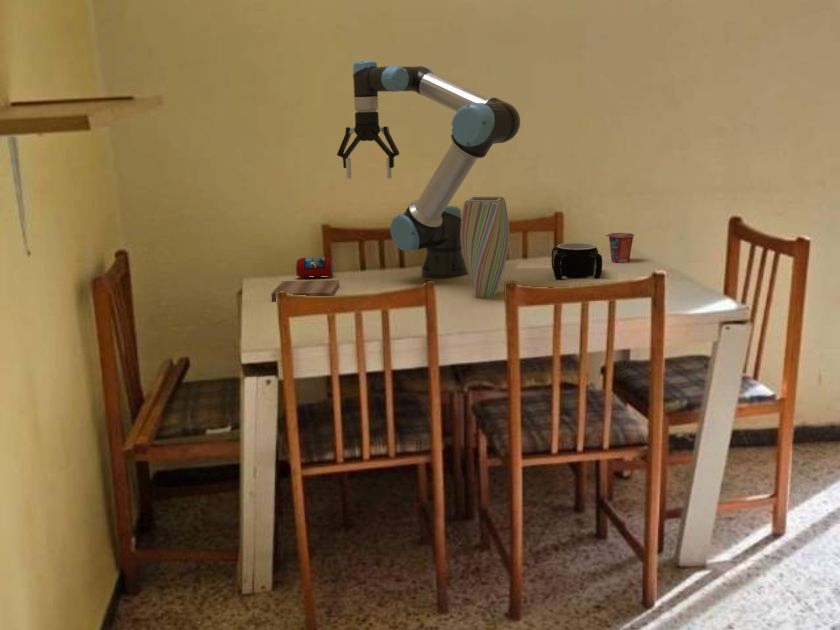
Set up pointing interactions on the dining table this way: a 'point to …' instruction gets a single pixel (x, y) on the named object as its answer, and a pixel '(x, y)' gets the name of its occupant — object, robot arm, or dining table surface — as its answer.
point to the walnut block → (307, 288)
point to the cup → (620, 246)
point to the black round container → (576, 261)
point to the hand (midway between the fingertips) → (369, 178)
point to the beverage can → (314, 267)
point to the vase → (485, 242)
